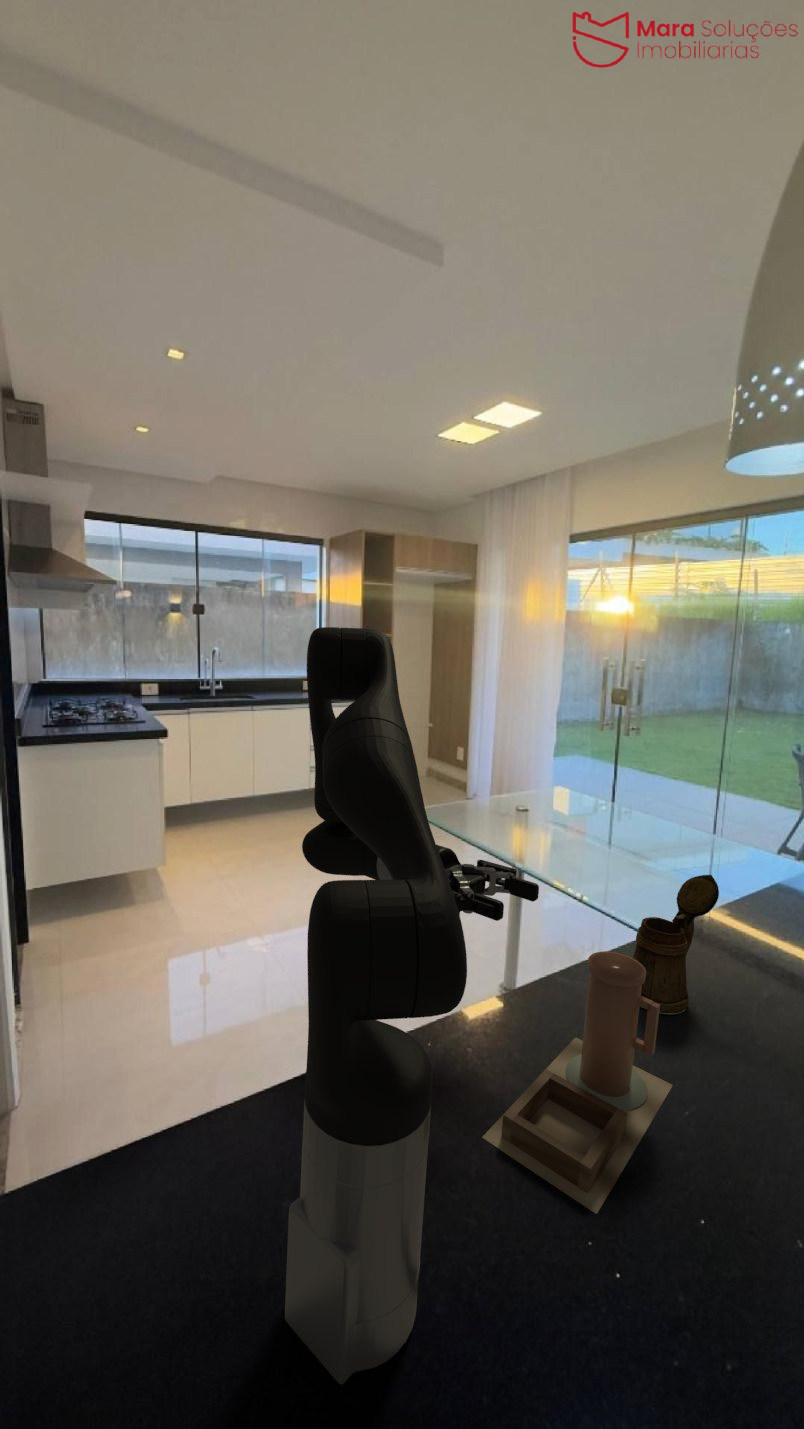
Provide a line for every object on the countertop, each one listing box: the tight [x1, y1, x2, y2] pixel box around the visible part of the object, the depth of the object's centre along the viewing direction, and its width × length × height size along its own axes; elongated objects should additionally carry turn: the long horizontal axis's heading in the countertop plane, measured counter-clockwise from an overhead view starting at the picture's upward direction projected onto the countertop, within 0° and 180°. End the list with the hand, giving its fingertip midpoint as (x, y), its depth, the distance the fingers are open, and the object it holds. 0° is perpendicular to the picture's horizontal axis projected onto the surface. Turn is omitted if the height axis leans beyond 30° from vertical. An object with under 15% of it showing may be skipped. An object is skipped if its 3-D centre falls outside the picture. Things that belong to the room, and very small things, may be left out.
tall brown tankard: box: [580, 950, 660, 1097], centre depth 69 cm, size 6×8×14 cm
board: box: [481, 1037, 674, 1215], centre depth 66 cm, size 22×12×4 cm, turn 140°
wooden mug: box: [632, 874, 720, 1013], centre depth 90 cm, size 9×14×18 cm, turn 114°
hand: (520, 902), depth 74 cm, fingers open, 8 cm apart
